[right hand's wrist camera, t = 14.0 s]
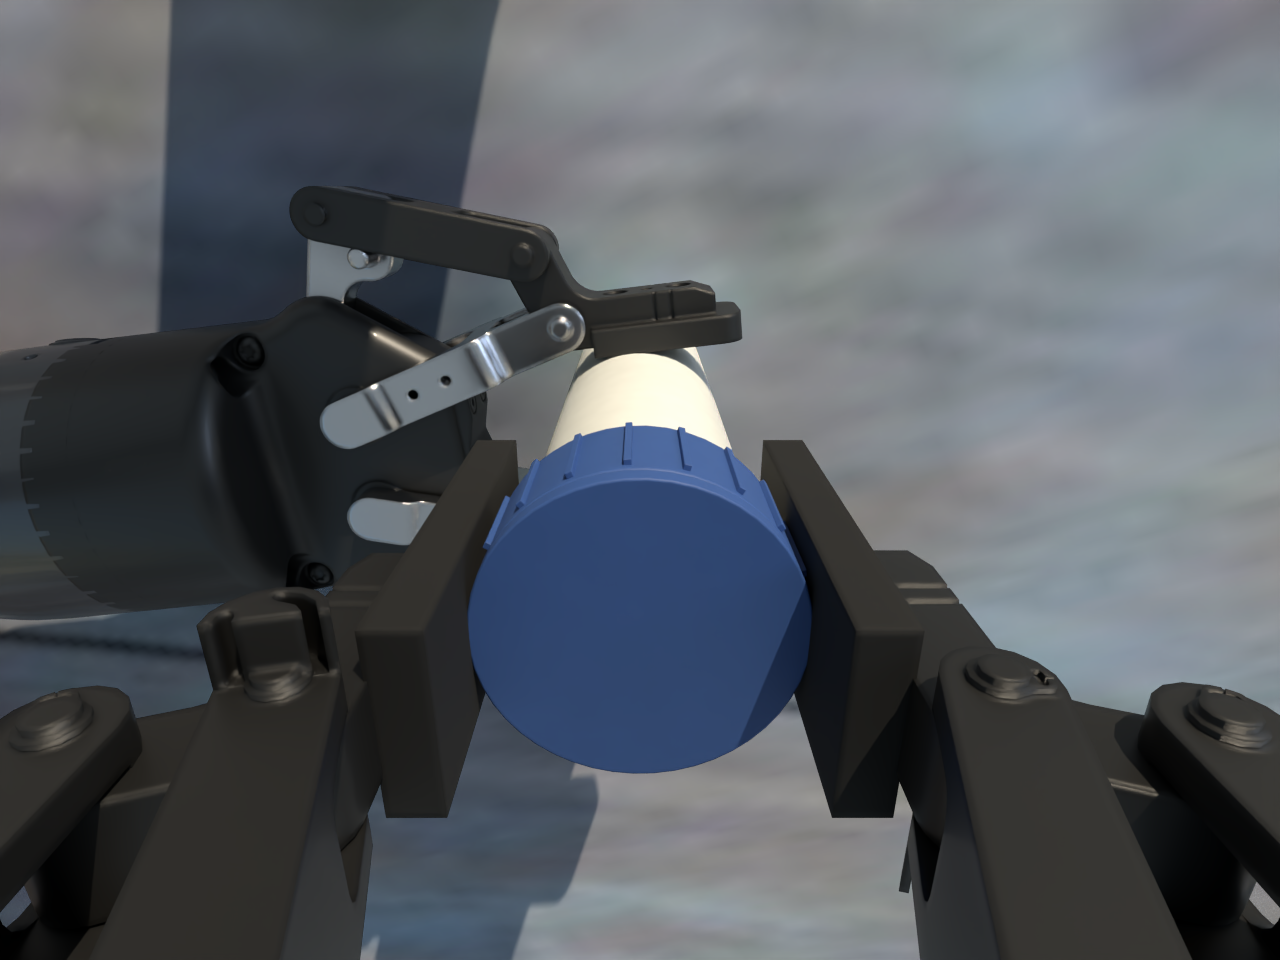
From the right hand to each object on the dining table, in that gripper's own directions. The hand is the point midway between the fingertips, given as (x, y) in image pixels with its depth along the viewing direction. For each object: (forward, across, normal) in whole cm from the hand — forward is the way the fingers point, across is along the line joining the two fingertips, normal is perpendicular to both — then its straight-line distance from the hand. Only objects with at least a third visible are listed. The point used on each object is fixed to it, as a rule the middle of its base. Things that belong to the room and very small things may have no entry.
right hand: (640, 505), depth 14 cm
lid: (-4, 0, 0) cm, 4 cm away
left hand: (+6, -3, 0) cm, 6 cm away
